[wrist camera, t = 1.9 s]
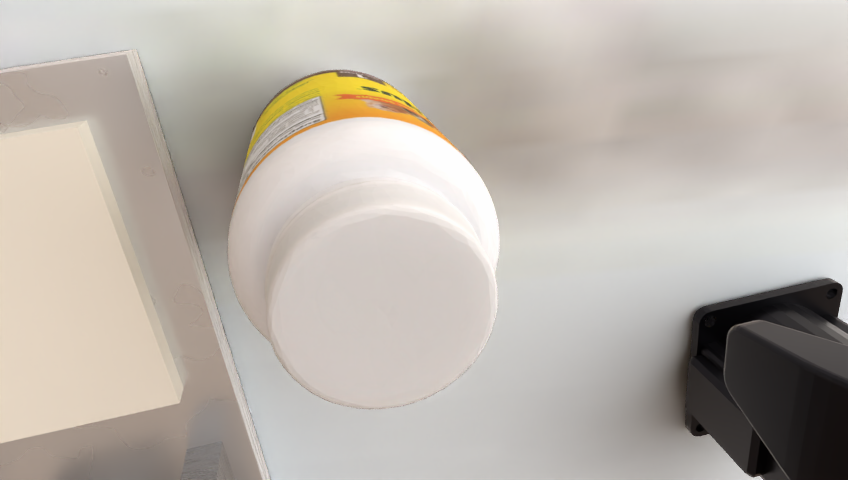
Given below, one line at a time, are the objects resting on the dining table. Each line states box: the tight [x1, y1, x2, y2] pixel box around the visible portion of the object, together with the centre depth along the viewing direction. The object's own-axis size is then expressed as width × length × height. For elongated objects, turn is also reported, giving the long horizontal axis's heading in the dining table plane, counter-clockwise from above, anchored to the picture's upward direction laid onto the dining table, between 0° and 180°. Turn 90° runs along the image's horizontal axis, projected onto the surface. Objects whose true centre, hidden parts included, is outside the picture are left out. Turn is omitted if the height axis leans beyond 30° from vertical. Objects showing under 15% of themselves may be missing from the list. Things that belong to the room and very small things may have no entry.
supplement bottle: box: [227, 70, 500, 409], centre depth 15 cm, size 6×6×10 cm
